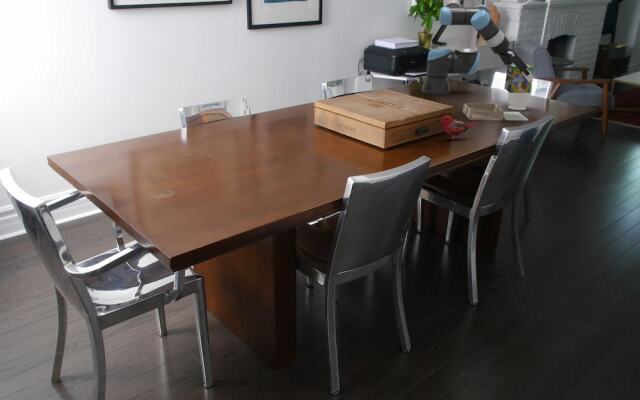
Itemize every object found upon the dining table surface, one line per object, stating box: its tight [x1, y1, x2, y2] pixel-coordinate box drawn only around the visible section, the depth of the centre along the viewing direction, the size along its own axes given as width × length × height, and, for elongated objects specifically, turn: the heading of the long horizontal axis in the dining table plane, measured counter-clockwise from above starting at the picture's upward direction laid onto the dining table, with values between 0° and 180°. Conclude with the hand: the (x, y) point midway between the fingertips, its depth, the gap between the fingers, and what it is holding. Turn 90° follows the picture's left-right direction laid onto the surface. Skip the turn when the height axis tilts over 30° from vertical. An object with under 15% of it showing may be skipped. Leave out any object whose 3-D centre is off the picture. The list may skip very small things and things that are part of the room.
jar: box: [507, 78, 534, 111], centre depth 255 cm, size 11×10×15 cm
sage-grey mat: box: [503, 111, 529, 122], centre depth 244 cm, size 14×10×1 cm
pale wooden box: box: [462, 103, 505, 121], centre depth 243 cm, size 15×15×4 cm
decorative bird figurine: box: [440, 115, 480, 140], centre depth 209 cm, size 3×18×10 cm, turn 106°
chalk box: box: [504, 57, 535, 93], centre depth 235 cm, size 9×9×15 cm
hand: (525, 77), depth 236 cm, fingers closed on chalk box, 10 cm apart
